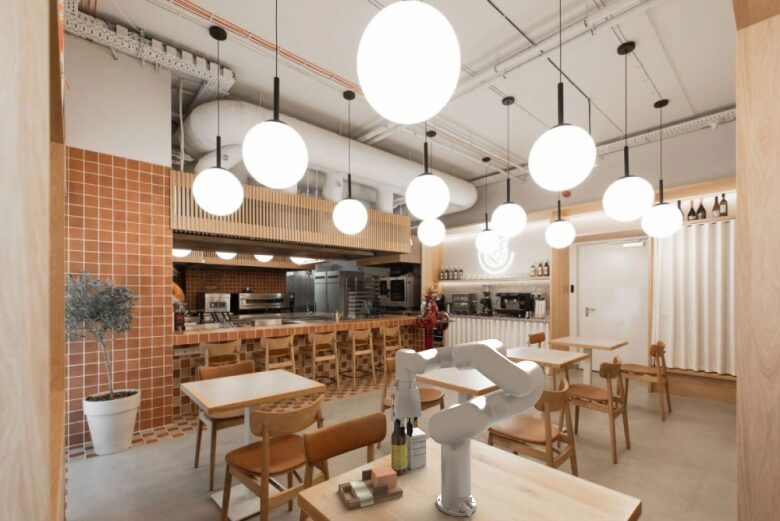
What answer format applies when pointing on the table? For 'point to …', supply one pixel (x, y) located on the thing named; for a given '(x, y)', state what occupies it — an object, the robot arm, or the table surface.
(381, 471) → the terracotta block
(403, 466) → the sauce bottle
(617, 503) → the table surface
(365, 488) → the tunnel board
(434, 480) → the table surface
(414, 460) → the supplement box
